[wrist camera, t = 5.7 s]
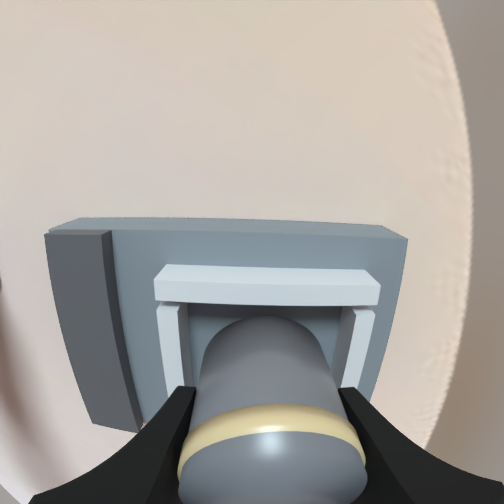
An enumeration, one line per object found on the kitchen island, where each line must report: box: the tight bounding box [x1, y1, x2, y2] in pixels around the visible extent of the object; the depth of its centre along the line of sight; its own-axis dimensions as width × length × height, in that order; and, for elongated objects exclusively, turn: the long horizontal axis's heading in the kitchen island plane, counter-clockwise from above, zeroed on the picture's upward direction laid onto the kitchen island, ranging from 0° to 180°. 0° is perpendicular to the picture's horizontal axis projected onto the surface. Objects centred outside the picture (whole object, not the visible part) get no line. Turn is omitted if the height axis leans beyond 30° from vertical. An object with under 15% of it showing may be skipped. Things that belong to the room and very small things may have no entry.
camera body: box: [44, 218, 408, 433], centre depth 14 cm, size 16×11×5 cm
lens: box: [177, 315, 367, 504], centre depth 9 cm, size 5×5×6 cm
